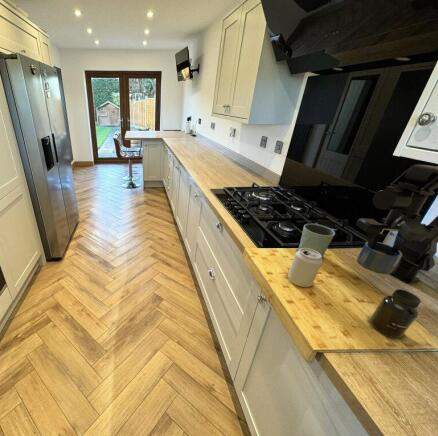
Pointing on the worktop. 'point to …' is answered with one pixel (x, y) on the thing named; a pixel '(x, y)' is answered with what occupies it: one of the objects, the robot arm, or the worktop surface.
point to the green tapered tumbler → (316, 237)
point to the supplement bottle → (395, 313)
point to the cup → (379, 258)
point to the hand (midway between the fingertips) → (381, 250)
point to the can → (305, 267)
